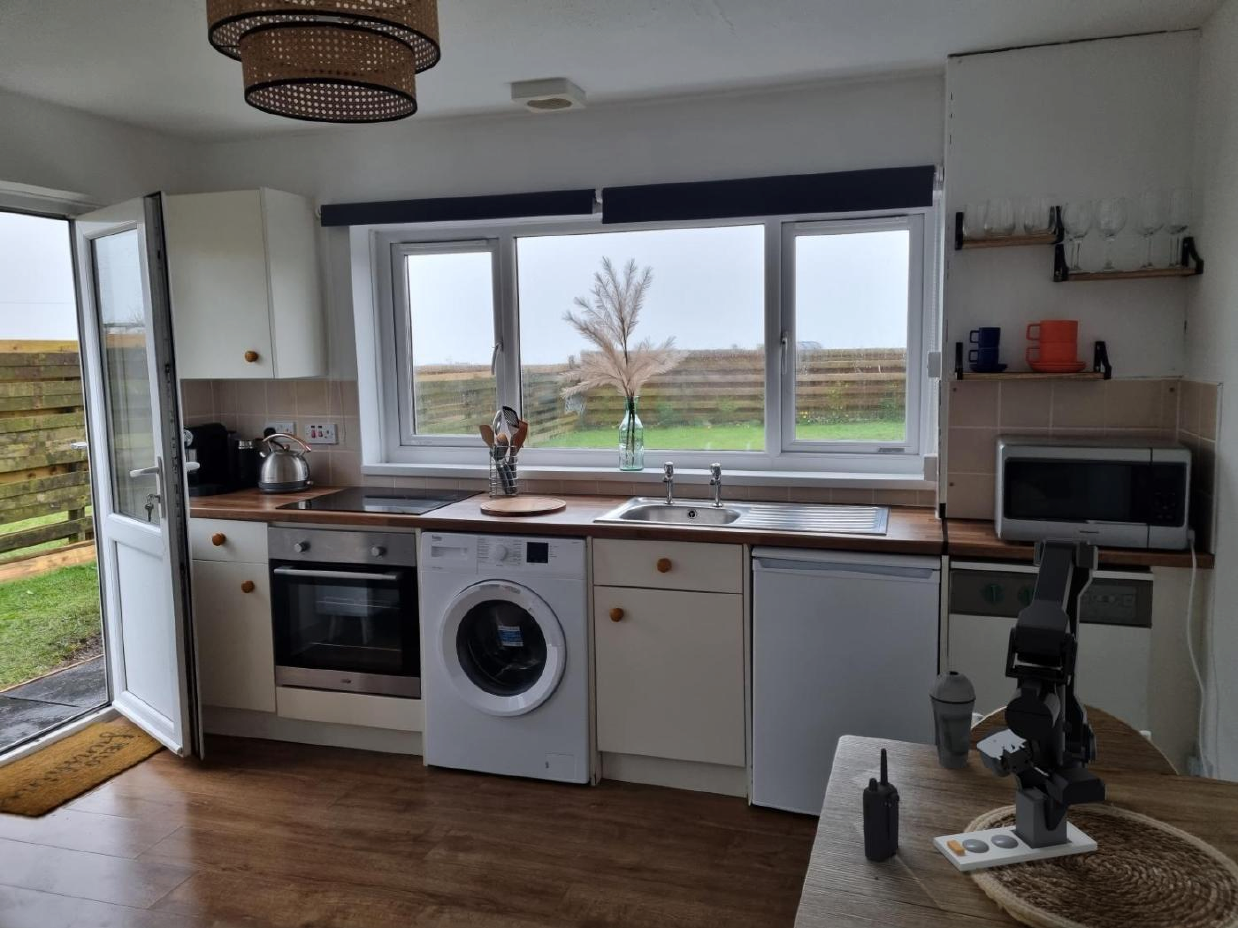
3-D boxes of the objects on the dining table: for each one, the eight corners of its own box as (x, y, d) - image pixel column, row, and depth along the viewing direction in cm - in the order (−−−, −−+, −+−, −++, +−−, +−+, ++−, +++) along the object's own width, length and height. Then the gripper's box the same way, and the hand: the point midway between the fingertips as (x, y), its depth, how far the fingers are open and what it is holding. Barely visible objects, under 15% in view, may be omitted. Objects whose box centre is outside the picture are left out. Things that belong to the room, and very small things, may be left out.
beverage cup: (979, 772, 152) (979, 653, 149) (932, 770, 153) (931, 652, 151) (972, 753, 159) (971, 639, 157) (927, 751, 160) (926, 639, 158)
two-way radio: (885, 843, 132) (883, 741, 130) (911, 856, 128) (909, 752, 126) (858, 856, 129) (856, 752, 127) (884, 870, 125) (882, 763, 123)
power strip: (1063, 831, 133) (1063, 814, 132) (1097, 856, 126) (1097, 838, 125) (933, 851, 129) (933, 833, 129) (960, 878, 122) (960, 859, 122)
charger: (1048, 832, 130) (1048, 784, 130) (1066, 847, 127) (1067, 797, 126) (1015, 837, 130) (1015, 789, 129) (1033, 852, 126) (1033, 802, 125)
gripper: (950, 695, 134) (950, 798, 135) (1029, 747, 115) (1029, 866, 117) (1020, 686, 136) (1020, 788, 137) (1109, 737, 117) (1108, 854, 119)
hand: (1040, 822), depth 128 cm, fingers closed on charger, 4 cm apart
